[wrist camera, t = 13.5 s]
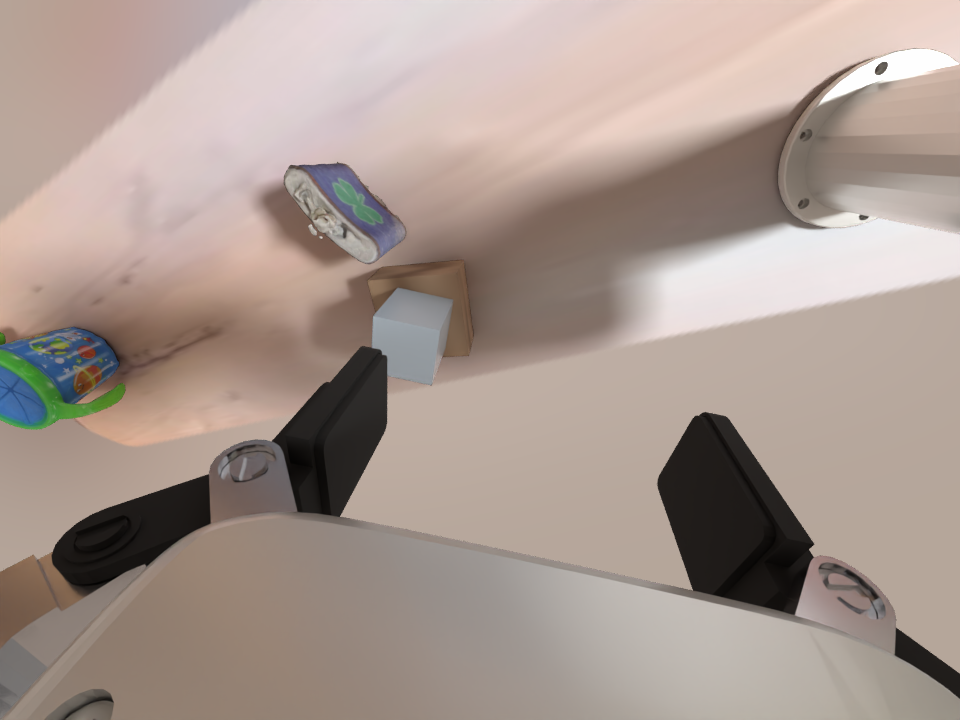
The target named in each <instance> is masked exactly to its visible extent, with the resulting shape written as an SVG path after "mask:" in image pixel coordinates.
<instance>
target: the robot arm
mask: <svg viewBox="0 0 960 720" xmlns="http://www.w3.org/2000/svg"><path fill="white" fill-rule="evenodd" d="M801 133H802V136H801V137H800V135H801ZM778 186H779V190H780V195H781V198H782V200H783V202H784V204H785V206H786V208H787V209H788V210H789V211H790V212H791V213H792V214H793V215H794V216H795V217H797V218H799V219H800V220H802V221H804V222H806V223H809V224H812V225H815V226H820V227H826V228H846V227H851V226H857V225H861V224H864V223H867V222H870V221H873V220H875V219H878V218H880V219H885V220H890V221H895V222H900V223H905V224H910V225H915V226H920V227H925V228H930V229H935V230H940V231H945V232H951V233H956V234H960V64H959V63H958V62H957V61H955V60H954V59H953V58H951V57H950V56H949V55H947V54H945V53H942V52H939V51H936V50H933V49H919V48H913V49H907V50H901V51H895V52H891V53H888V54H884V55H881V56H877V57H875V58H873V59H870V60H868V61H866V62H863V63H861V64H859V65H857V66H856V67H854V68H852V69H851V70H849V71H847V72H846V73H844V74H843V75H841V76H840V77H838V78H837V79H836V80H835V81H833V82H832V83H831V84H830V85H829V86H827V87H826V88H825V89H824V90H823V91H822V92H821V93H820V94H819V95H818V96H817V97H816V98H815V99H814V100H813V101H812V102H811V103H810V104H809V105H808V107H807V108H806V109H805V111H804V112H803V114H802V115H801V116H800V118H799V119H798V120H797V122H796V124H795V125H794V127H793V129H792V131H791V133H790V134H789V136H788V138H787V141H786V143H785V146H784V149H783V151H782V154H781V159H780V164H779V169H778ZM798 203H799V204H798ZM386 424H387V356H386V355H382V351H381V350H380V349H375V348H370V347H365V346H362V347H360V348H359V350H358V351H357V352H356V353H355V354H354V355H353V357H352V358H351V359H350V360H349V361H348V362H347V364H346V365H345V366H344V367H343V368H342V369H341V371H340V372H339V373H338V374H337V375H336V376H335V377H334V379H333V380H332V381H331V382H330V383H329V382H326V383H324V384H323V385H321V386H320V388H319V389H318V390H317V391H316V392H315V393H314V394H313V395H312V397H311V398H310V399H309V400H308V401H307V402H306V403H305V404H304V406H303V407H302V408H301V409H300V410H299V411H298V412H297V413H296V415H295V416H294V417H293V418H292V419H291V420H290V421H289V422H288V424H287V425H286V426H285V427H284V428H283V429H282V430H281V432H280V433H279V434H278V435H277V436H276V437H275V438H274V439H273V441H272V442H271V441H267V440H250V441H244V442H241V443H239V444H236V445H234V446H231V447H230V448H228V449H226V450H224V451H223V452H222V453H221V454H220V455H218V456H217V457H216V458H215V460H214V461H213V463H212V464H211V466H210V471H209V474H208V475H205V476H202V477H199V478H196V479H193V480H190V481H187V482H184V483H181V484H178V485H175V486H172V487H169V488H166V489H163V490H160V491H157V492H154V493H151V494H148V495H145V496H142V497H139V498H136V499H133V500H130V501H127V502H124V503H121V504H118V505H115V506H112V507H109V508H106V509H104V510H101V511H99V512H97V513H94V514H92V515H90V516H89V517H87V518H85V519H83V520H82V521H80V522H78V523H77V524H76V525H74V526H73V527H72V528H71V529H70V530H69V531H67V532H66V533H65V534H64V535H63V536H62V538H61V539H60V540H59V541H58V542H57V544H56V545H55V548H54V550H53V552H51V553H49V554H47V555H45V556H44V557H42V558H40V559H37V558H36V557H35V556H34V555H32V556H30V557H28V558H26V559H24V560H22V561H20V562H18V563H17V564H14V565H12V566H10V567H8V568H6V569H5V570H3V571H1V572H0V720H960V674H959V673H958V672H957V671H955V670H954V669H952V668H951V667H950V666H948V665H947V664H946V663H944V662H943V661H942V660H940V659H938V658H937V657H936V656H935V655H933V654H932V653H930V652H929V651H928V650H926V649H925V648H924V647H922V646H921V645H919V644H918V643H917V642H915V641H914V640H912V639H911V638H910V637H908V636H907V635H905V634H904V633H903V632H902V631H900V630H899V629H897V628H896V616H895V612H894V609H893V607H892V605H891V604H890V602H889V600H888V599H887V598H886V596H885V595H884V594H883V593H882V591H881V590H880V589H879V588H878V587H877V586H876V585H875V584H874V583H873V582H872V581H871V580H869V579H868V578H867V577H866V576H865V575H863V574H862V573H860V572H859V571H858V570H856V569H855V568H853V567H852V566H850V565H848V564H846V563H844V562H842V561H840V560H838V559H835V558H832V557H827V556H817V557H813V555H812V554H811V552H810V551H809V549H810V548H811V547H812V546H813V545H814V543H813V541H812V540H811V539H810V537H809V536H808V534H807V533H806V531H805V530H804V528H803V527H802V525H801V524H800V522H799V521H798V520H797V518H796V517H795V515H794V514H793V512H792V511H791V509H790V508H789V506H788V505H787V503H786V502H785V501H784V499H783V498H782V496H781V495H780V493H779V492H778V490H777V489H776V488H775V486H774V484H773V483H772V481H771V480H770V479H769V477H768V476H767V474H766V473H765V471H764V470H763V469H762V467H761V465H760V464H759V462H758V461H757V459H756V458H755V457H754V455H753V454H752V452H751V451H750V449H749V448H748V447H747V445H746V444H745V442H744V441H743V439H742V438H741V436H740V435H739V433H738V432H737V430H736V429H735V427H734V426H733V424H732V423H731V422H730V420H729V419H728V418H727V417H726V416H721V415H717V414H712V413H707V412H704V413H702V414H700V415H699V416H695V417H694V418H693V419H692V421H691V422H690V424H689V426H688V427H687V429H686V431H685V433H684V434H683V436H682V438H681V440H680V441H679V443H678V445H677V446H676V448H675V450H674V451H673V453H672V455H671V456H670V458H669V460H668V462H667V463H666V465H665V467H664V468H663V470H662V472H661V474H660V475H659V478H658V490H659V493H660V496H661V499H662V501H663V504H664V507H665V510H666V513H667V516H668V519H669V521H670V525H671V528H672V531H673V533H674V536H675V539H676V542H677V545H678V548H679V551H680V554H681V557H682V560H683V562H684V565H685V568H686V571H687V574H688V577H689V580H690V583H691V585H692V589H693V591H692V590H687V589H683V588H678V587H674V586H669V585H664V584H660V583H656V582H651V581H647V580H642V579H637V578H633V577H628V576H624V575H619V574H615V573H610V572H605V571H601V570H596V569H592V568H586V567H582V566H577V565H573V564H568V563H563V562H559V561H554V560H549V559H545V558H540V557H536V556H531V555H526V554H521V553H517V552H512V551H507V550H503V549H498V548H493V547H488V546H483V545H479V544H474V543H469V542H465V541H460V540H455V539H450V538H445V537H440V536H436V535H431V534H426V533H421V532H416V531H411V530H407V529H402V528H396V527H392V526H386V525H380V524H376V523H370V522H366V521H360V520H355V519H350V518H344V517H340V515H341V513H342V512H343V510H344V508H345V506H346V504H347V502H348V500H349V498H350V496H351V495H352V493H353V491H354V489H355V487H356V485H357V483H358V481H359V479H360V478H361V476H362V474H363V472H364V470H365V468H366V466H367V464H368V462H369V460H370V458H371V457H372V455H373V453H374V451H375V449H376V447H377V445H378V443H379V442H380V440H381V438H382V436H383V434H384V432H385V429H386Z"/></svg>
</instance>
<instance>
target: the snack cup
mask: <svg viewBox="0 0 960 720" xmlns="http://www.w3.org/2000/svg"><path fill="white" fill-rule="evenodd" d="M5 341H6V340H5V336H4V334H3V333H1V332H0V420H1V421H4V422H6V423H8V424H10V425H13V426H16V427H20V428H24V429H42V428H45V427H47V426H49V425H51V424H53V423H54V422H56V421H57V420H59V419H71V418H77V417H83V416H86V415H90V414H93V413H96V412H98V411H101V410H103V409H106V408H108V407H110V406H112V405H114V404H116V403H117V402H118V401H119V400H120V399H121V398H122V397H123V395H124V393H125V385H124V384H123V383H120V384H118V385H117V386H116V387H115V388H114V389H113V390H111V391H109V392H107V393H106V394H104V395H102V396H100V397H99V398H97V399H95V400H93V401H92V402H90V403H87V404H76V403H77V402H78V401H80V400H81V399H82V398H84V397H85V396H86V395H88V394H89V393H90V392H91V391H93V390H94V389H95V388H97V387H98V386H99V385H101V384H102V383H103V382H105V381H106V380H107V379H108V378H109V377H111V376H112V375H113V374H114V373H115V371H116V370H117V367H118V366H119V362H118V361H117V359H116V356H115V354H114V352H113V351H112V349H111V348H110V347H109V346H108V345H107V344H106V342H105V340H104V339H102V338H101V337H97V336H96V335H94V334H93V333H91V332H89V331H86V330H82V329H78V328H75V327H71V328H67V329H61V330H56V331H52V332H49V333H44V334H40V335H36V336H32V337H28V338H24V339H20V340H16V341H13V342H11V343H7V344H5Z"/></svg>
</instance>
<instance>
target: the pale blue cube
mask: <svg viewBox="0 0 960 720" xmlns="http://www.w3.org/2000/svg"><path fill="white" fill-rule="evenodd" d="M452 306H453V300H452V299H448V298H443V297H439V296H434V295H429V294H425V293H420V292H416V291H411V290H407V289H402V288H397V289H396V290H395V291H394V293H393V294H392V295H391V296H390V297H389V298H388V299H387V301H386V302H385V303H384V304H383V305H382V306H381V308H380V309H379V310H378V311H377V312H376V313H375V314H374V316H373V330H372V348H375V349H380V350H381V351H382V355H386V356H387V376H390V377H395V378H400V379H404V380H409V381H414V382H418V383H423V384H428V385H432V383H433V381H434V378H435V375H436V373H437V370H438V367H439V365H440V362H441V359H442V356H443V354H444V351H445V348H446V342H447V336H448V330H449V324H450V318H451V312H452Z"/></svg>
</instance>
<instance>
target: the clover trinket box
mask: <svg viewBox="0 0 960 720" xmlns="http://www.w3.org/2000/svg"><path fill="white" fill-rule="evenodd" d="M284 185H285V187H286V189H287V191H288V192H289V194H290V195H291V196H292V198H293V199H294V200H295V201H296V203H297V204H298V205H299V207H300V208H301V209H302V211H303V212H304V213H305V214H306V215H307V217H308V218H309V219H310V220H311V221H312V222H313V223H314V225H315V227H317V229H318V231H319V232H322V233H324V234H325V235H326V236H327V237H329V238H330V239H331V240H332V241H333V242H334V243H335V244H337V245H338V246H339V247H341V248H342V249H343V250H345V251H346V252H347V253H348V254H350V255H351V256H353V257H354V258H356V259H357V260H358V261H361V262H363V263H365V264H371V263H374V262H375V261H377V260H378V259H379V258H380V257H382V256H383V255H384V254H385V253H387V252H388V251H389V250H390V249H392V248H393V247H395V246H396V245H397V244H398V243H400V242H401V241H403V240H404V238H405V236H406V229H405V226H404V225H403V223H402V222H401V221H400V219H399V217H397V216H396V215H393V214H392V213H391V212H390V211H389V210H388V208H387V207H386V205H385V204H384V203H383V202H382V200H381V199H379V197H378V196H376V195H374V194H372V193H370V191H369V190H368V186H366V185H364V184H363V183H362V182H361V181H360V179H359V176H357V175H356V174H355V172H354V171H353V170H352V169H351V168H350V166H349V165H346V164H343V163H338V162H337V164H318V165H299V166H296V165H290V166H289V168H288V170H287V171H286V173H285V175H284ZM308 228H309V230H310V232H311V233H312V234H313V235H315V236H317V231H316V230H315V229H314V228H313V226H312V224H310V225H309V226H308ZM319 238H320V239H323V237H322V236H319Z"/></svg>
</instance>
